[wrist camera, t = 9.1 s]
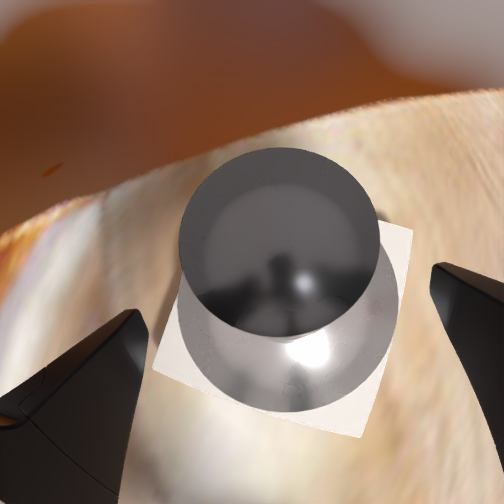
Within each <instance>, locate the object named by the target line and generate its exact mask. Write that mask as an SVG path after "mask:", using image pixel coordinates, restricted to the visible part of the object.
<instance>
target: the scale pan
mask: <svg viewBox="0 0 504 504" xmlns="http://www.w3.org/2000/svg"><path fill="white" fill-rule="evenodd" d="M398 303H399V297H398V287H397V281H396V277H395V273H394V269H393V267H392V264H391V262H390V259H389V257H388V255H387V253H386V251H385V249H384V247H383V246H382V244H381V243H380V251H379V258H378V262H377V266H376V269H375V272H374V275H373V277H372V279H371V281H370V283H369V285H368V287H367V288H366V290H365V292H364V293H363V295H362V296H361V297H360V298H359V300H358V301H357V302H356V303H355V304H354V305H353V306H352V307H351V308H350V309H349V310H348V311H347V312H346V313H345V314H343V315H342V316H341V317H340V318H338V319H337V320H335V321H334V322H332V323H331V324H329V325H327V326H325V327H323V328H322V329H321V330H320V331H318V332H317V333H316V334H315V335H313V336H312V337H310V338H309V339H306V340H304V341H301V342H298V343H292V344H283V343H277V342H273V341H271V340H268V339H266V338H264V337H262V336H257V335H253V334H249V333H246V332H244V331H241V330H239V329H237V328H234V327H232V326H230V325H228V324H227V323H225V322H223V321H221V320H220V319H218V318H217V317H216V316H214V315H213V314H212V313H211V312H209V311H208V310H207V309H206V308H205V307H204V306H203V304H202V303H201V302H200V301H199V300H198V299H197V297H196V296H195V294H194V293H193V292H192V290H191V288H190V286H189V284H188V282H187V280H186V278H185V275H184V272H183V273H182V276H181V279H180V284H179V290H178V303H177V309H178V321H179V326H180V330H181V335H182V338H183V340H184V343H185V346H186V348H187V350H188V352H189V354H190V356H191V358H192V360H193V362H194V363H195V364H196V366H197V367H198V369H199V370H200V371H201V373H202V374H203V375H204V376H205V377H206V378H207V379H208V380H209V381H210V382H211V383H212V384H213V385H214V386H215V387H217V388H218V389H219V390H220V391H222V392H223V393H224V394H226V395H228V396H229V397H231V398H233V399H234V400H236V401H238V402H241V403H243V404H245V405H248V406H250V407H254V408H257V409H261V410H265V411H273V412H301V411H307V410H313V409H316V408H319V407H323V406H326V405H328V404H331V403H333V402H335V401H337V400H339V399H341V398H343V397H344V396H346V395H347V394H349V393H351V392H352V391H354V390H355V389H356V388H357V387H358V386H360V385H361V384H362V383H363V382H364V381H365V380H366V379H367V378H368V377H369V376H370V375H371V374H372V373H373V371H374V370H375V369H376V368H377V366H378V365H379V363H380V362H381V360H382V359H383V357H384V356H385V354H386V352H387V350H388V347H389V345H390V343H391V341H392V338H393V334H394V331H395V328H396V323H397V317H398Z"/></svg>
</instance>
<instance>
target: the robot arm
mask: <svg viewBox="0 0 504 504" xmlns="http://www.w3.org/2000/svg"><path fill="white" fill-rule="evenodd" d="M430 295H431V297H432V300H433V302H434V304H435V307H436V309H437V311H438V314H439V316H440V318H441V321H442V323H443V326H444V328H445V331H446V333H447V335H448V337H449V339H450V341H451V343H452V345H453V347H454V349H455V351H456V353H457V355H458V357H459V359H460V361H461V363H462V365H463V367H464V369H465V372H466V374H467V376H468V378H469V380H470V383H471V385H472V387H473V389H474V392H475V394H476V396H477V399H478V401H479V403H480V406H481V408H482V411H483V413H484V416H485V418H486V421H487V424H488V426H489V429H490V432H491V434H492V437H493V440H494V443H495V445H496V449H497V452H498V456H499V459H500V462H501V465H502V468H503V472H504V283H502V282H499V281H497V280H494V279H491V278H489V277H486V276H483V275H481V274H478V273H475V272H472V271H470V270H467V269H464V268H461V267H458V266H456V265H453V264H450V263H447V262H441V263H436V264H434V265H433V267H432V272H431V280H430ZM148 338H149V332H148V329H147V326H146V324H145V322H144V320H143V317H142V315H141V313H140V311H139V310H138V309H127V310H124V311H123V312H121V313H120V314H118V315H117V316H116V317H114V318H113V319H111V320H110V321H108V322H107V323H106V324H104V325H103V326H101V327H100V328H99V329H97V330H96V331H94V332H93V333H92V334H90V335H89V336H87V337H86V338H84V339H83V340H82V341H80V342H79V343H77V344H76V345H75V346H73V347H72V348H71V349H69V350H68V351H66V352H65V353H64V354H62V355H61V356H59V357H58V358H57V359H55V360H54V361H53V362H51V363H50V364H48V365H47V367H44V368H43V369H41V370H40V371H39V372H37V373H36V374H35V375H33V376H32V377H30V378H29V379H28V380H26V381H25V382H23V383H22V384H20V385H19V386H17V387H16V388H14V389H13V390H11V391H10V392H8V393H6V394H5V395H3V396H2V397H0V504H118V499H119V497H118V496H119V491H120V485H121V479H122V473H123V468H124V462H125V457H126V452H127V447H128V442H129V437H130V432H131V427H132V422H133V418H134V413H135V409H136V404H137V400H138V396H139V392H140V387H141V383H142V379H143V373H144V366H145V359H146V352H147V345H148Z"/></svg>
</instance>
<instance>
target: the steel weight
mask: <svg viewBox="0 0 504 504" xmlns="http://www.w3.org/2000/svg"><path fill="white" fill-rule="evenodd" d="M379 251H380V230H379V224H378V219H377V216H376V212H375V209H374V207H373V205H372V203H371V200H370V198H369V196H368V195H367V193H366V192H365V190H364V189H363V187H362V186H361V185H360V184H359V182H358V181H357V180H356V179H355V178H354V177H353V176H352V175H351V174H350V173H349V172H348V171H347V170H345V169H344V168H343V167H341V166H340V165H338V164H337V163H335V162H333V161H332V160H330V159H328V158H326V157H324V156H321V155H319V154H316V153H313V152H309V151H306V150H301V149H295V148H268V149H262V150H257V151H253V152H250V153H246V154H244V155H241V156H239V157H236V158H234V159H232V160H231V161H229V162H227V163H225V164H224V165H222V166H221V167H219V168H218V169H217V170H215V171H214V172H213V173H212V174H211V175H210V176H208V177H207V178H206V179H205V180H204V182H203V183H202V184H201V185H200V186H199V187H198V189H197V190H196V192H195V193H194V195H193V196H192V198H191V200H190V202H189V203H188V205H187V207H186V210H185V213H184V215H183V218H182V222H181V227H180V233H179V256H180V261H181V266H182V269H183V272H184V275H185V278H186V280H187V282H188V284H189V286H190V288H191V290H192V292H193V293H194V294H195V296H196V297H197V299H198V300H199V301H200V302H201V303H202V304H203V306H204V307H205V308H206V309H207V310H208V311H209V312H211V313H212V314H213V315H214V316H216V317H217V318H218V319H220V320H221V321H223V322H225V323H227V324H228V325H230V326H232V327H234V328H237V329H239V330H241V331H244V332H246V333H249V334H253V335H257V336H262V337H264V338H266V339H268V340H271V341H273V342H277V343H283V344H292V343H298V342H301V341H304V340H306V339H309V338H310V337H312V336H313V335H315V334H316V333H317V332H318V331H320V330H321V329H322V328H323V327H325V326H327V325H329V324H331V323H332V322H334V321H335V320H337V319H338V318H340V317H341V316H342V315H343V314H345V313H346V312H347V311H348V310H349V309H350V308H351V307H352V306H353V305H354V304H355V303H356V302H357V301H358V300H359V298H360V297H361V296H362V295H363V293H364V292H365V290H366V288H367V287H368V285H369V283H370V281H371V279H372V277H373V275H374V272H375V269H376V266H377V262H378V258H379Z"/></svg>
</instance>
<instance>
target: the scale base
mask: <svg viewBox="0 0 504 504" xmlns="http://www.w3.org/2000/svg"><path fill="white" fill-rule="evenodd" d="M378 224H379V230H380V243H381V244H382V246H383V247H384V249H385V251H386V253H387V255H388V257H389V259H390V262H391V264H392V267H393V269H394V273H395V277H396V281H397V287H398V297H399V303H398V315H399V311H400V306H401V302H402V297H403V292H404V286H405V281H406V276H407V270H408V264H409V257H410V251H411V244H412V236H413V230H410V229H407V228H404V227H401V226H397V225H394V224H391V223H387V222H384V221H380V220H378ZM177 303H178V294H177V297H176V300H175V302H174V305H173V308H172V311H171V314H170V316H169V319H168V322H167V325H166V328H165V331H164V333H163V336H162V339H161V342H160V345H159V348H158V351H157V354H156V357H155V360H154V363H153V366H152V369H153V370H155V371H157V372H159V373H161V374H163V375H166V376H168V377H170V378H172V379H175V380H177V381H179V382H181V383H184V384H186V385H189V386H191V387H193V388H196V389H198V390H201V391H203V392H206V393H208V394H211V395H213V396H216V397H219V398H221V399H224V400H227V401H229V402H232V403H235V404H238V405H240V406H243V407H246V408H249V409H252V410H255V411H258V412H261V413H264V414H268V415H271V416H274V417H277V418H281V419H284V420H287V421H291V422H294V423H298V424H302V425H306V426H309V427H313V428H317V429H321V430H325V431H330V432H334V433H338V434H343V435H348V436H353V437H358V438H361V436H362V433H363V431H364V428H365V425H366V423H367V420H368V417H369V415H370V412H371V409H372V406H373V403H374V400H375V397H376V394H377V391H378V388H379V385H380V382H381V379H382V376H383V372H384V369H385V366H386V362H387V359H388V355H389V351H390V348H391V344H392V341H391V343H390V345H389V347H388V350H387V352H386V354H385V356H384V357H383V359H382V360H381V362H380V363H379V365H378V366H377V368H376V369H375V370H374V371H373V373H372V374H371V375H370V376H369V377H368V378H367V379H366V380H365V381H364V382H363V383H362V384H361V385H360V386H358V387H357V388H356V389H355V390H354V391H352V392H351V393H349V394H347V395H346V396H344V397H343V398H341V399H339V400H337V401H335V402H333V403H331V404H328V405H326V406H323V407H319V408H316V409H313V410H307V411H301V412H273V411H265V410H261V409H257V408H254V407H250V406H248V405H245V404H243V403H241V402H238V401H236V400H234V399H233V398H231V397H229V396H228V395H226V394H224V393H223V392H222V391H220V390H219V389H218V388H217V387H215V386H214V385H213V384H212V383H211V382H210V381H209V380H208V379H207V378H206V377H205V376H204V375H203V374H202V373H201V371H200V370H199V369H198V367H197V366H196V364H195V363H194V362H193V360H192V358H191V356H190V354H189V352H188V350H187V348H186V346H185V343H184V340H183V338H182V335H181V330H180V326H179V321H178V309H177ZM397 320H398V317H397ZM396 324H397V323H396ZM394 332H395V331H394ZM393 336H394V334H393ZM392 340H393V338H392Z"/></svg>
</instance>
